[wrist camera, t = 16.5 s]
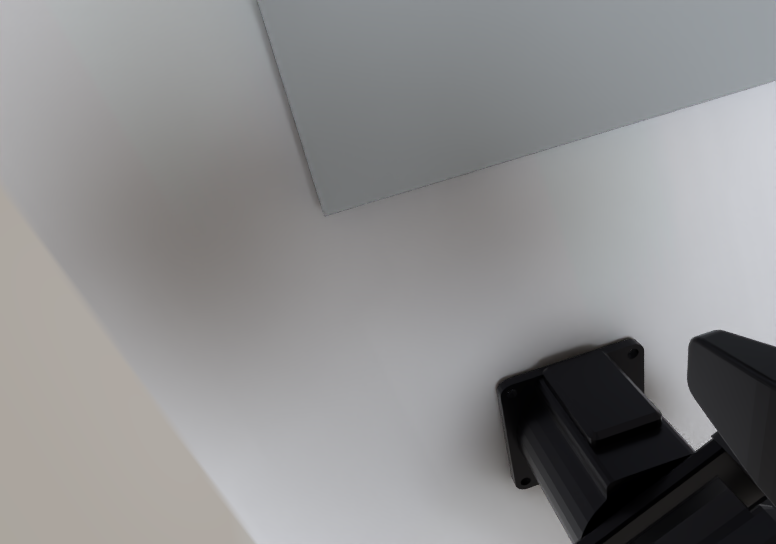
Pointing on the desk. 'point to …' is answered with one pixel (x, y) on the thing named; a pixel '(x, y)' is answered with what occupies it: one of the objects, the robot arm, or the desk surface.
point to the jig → (494, 78)
